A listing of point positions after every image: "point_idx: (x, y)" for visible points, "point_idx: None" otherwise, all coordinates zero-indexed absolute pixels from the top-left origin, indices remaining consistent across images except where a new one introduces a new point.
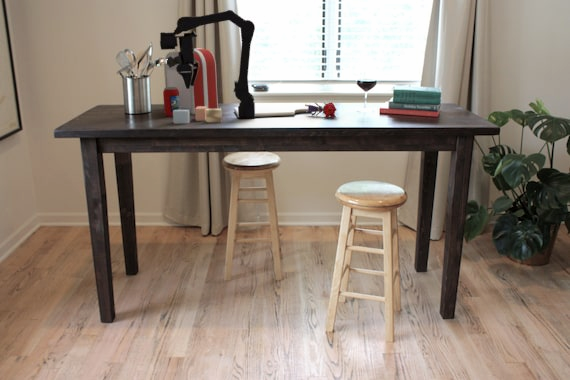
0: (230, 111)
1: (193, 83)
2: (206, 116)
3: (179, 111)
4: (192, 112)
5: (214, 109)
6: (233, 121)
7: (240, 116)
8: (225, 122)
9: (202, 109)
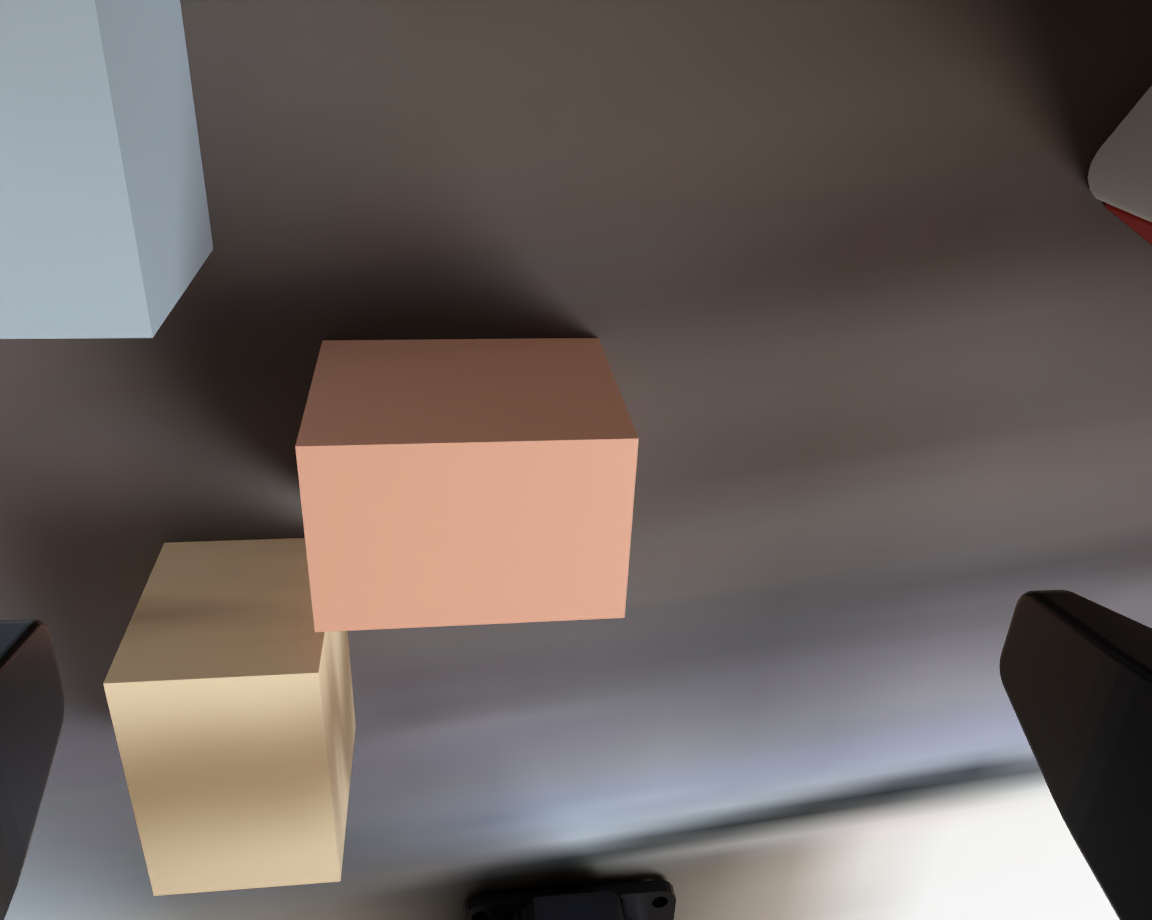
0: None
1: (1037, 751)
2: (138, 610)
3: None
4: (1111, 158)
5: (218, 803)
6: None
7: (514, 917)
8: None
9: (314, 580)
